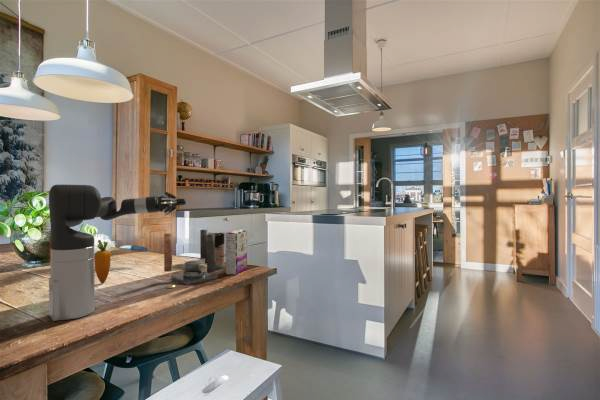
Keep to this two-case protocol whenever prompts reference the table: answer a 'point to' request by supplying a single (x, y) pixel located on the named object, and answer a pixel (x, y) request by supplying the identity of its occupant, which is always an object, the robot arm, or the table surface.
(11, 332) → the table surface
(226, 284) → the table surface
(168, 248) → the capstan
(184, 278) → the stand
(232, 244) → the candy bar box
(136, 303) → the table surface
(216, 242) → the dark printed box
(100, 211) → the robot arm
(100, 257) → the carrot
